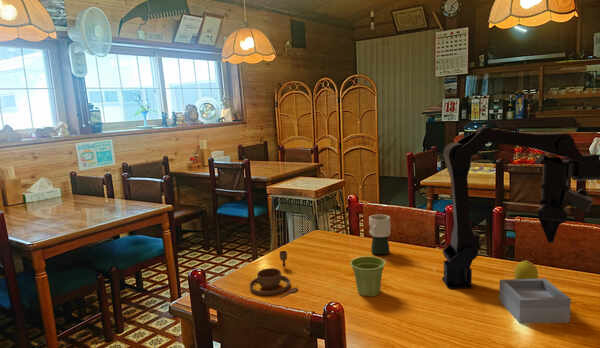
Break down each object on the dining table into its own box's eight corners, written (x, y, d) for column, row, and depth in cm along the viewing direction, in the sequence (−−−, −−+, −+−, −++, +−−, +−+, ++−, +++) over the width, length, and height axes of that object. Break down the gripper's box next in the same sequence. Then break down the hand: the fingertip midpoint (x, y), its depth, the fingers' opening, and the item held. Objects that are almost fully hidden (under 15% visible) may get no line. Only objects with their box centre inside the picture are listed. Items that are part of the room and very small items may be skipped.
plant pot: (365, 303, 106) (364, 271, 105) (345, 290, 115) (343, 260, 113) (393, 294, 111) (392, 263, 109) (371, 282, 119) (370, 253, 118)
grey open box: (519, 324, 93) (520, 300, 92) (499, 301, 104) (499, 279, 103) (569, 323, 92) (570, 298, 91) (544, 300, 103) (544, 278, 102)
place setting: (235, 287, 122) (233, 268, 121) (283, 266, 136) (282, 249, 135) (275, 304, 110) (273, 283, 109) (323, 279, 124) (322, 261, 123)
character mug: (376, 246, 148) (375, 212, 146) (395, 249, 144) (394, 214, 142) (364, 256, 139) (363, 220, 137) (384, 259, 135) (383, 222, 133)
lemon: (540, 293, 106) (542, 264, 105) (517, 292, 107) (518, 264, 106) (533, 284, 112) (534, 256, 110) (511, 283, 113) (512, 256, 111)
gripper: (595, 189, 95) (589, 253, 98) (590, 176, 111) (585, 232, 113) (539, 185, 101) (535, 245, 104) (542, 174, 117) (539, 226, 119)
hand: (550, 237), depth 110 cm, fingers open, 9 cm apart
